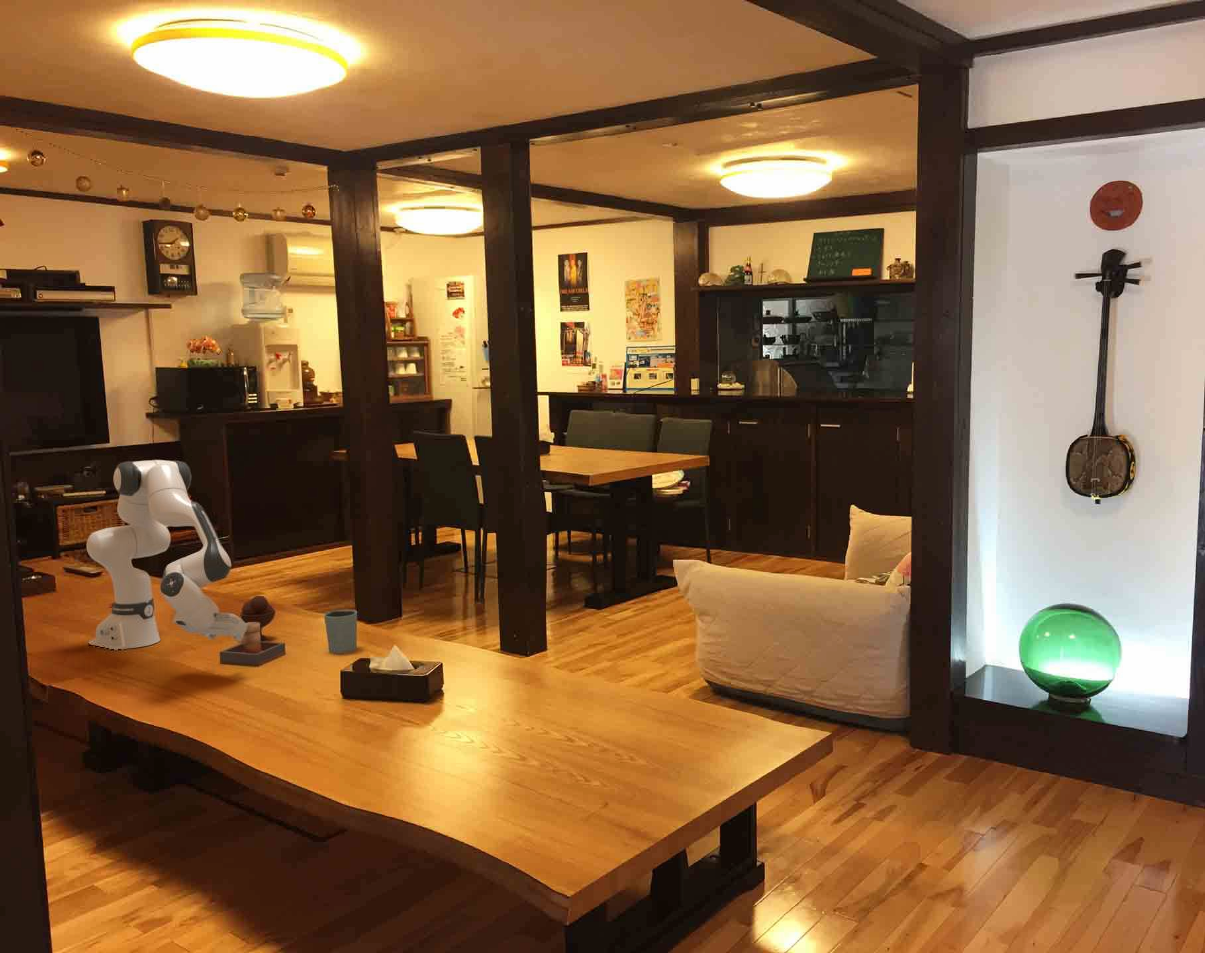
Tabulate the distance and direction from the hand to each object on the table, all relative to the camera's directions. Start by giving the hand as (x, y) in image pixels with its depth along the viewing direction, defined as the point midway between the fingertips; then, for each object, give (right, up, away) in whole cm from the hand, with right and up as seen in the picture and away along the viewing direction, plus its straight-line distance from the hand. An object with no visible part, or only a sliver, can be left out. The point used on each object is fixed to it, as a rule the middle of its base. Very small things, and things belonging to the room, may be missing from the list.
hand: (226, 638), depth 305 cm
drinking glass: (+29, -7, +20) cm, 36 cm away
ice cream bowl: (-2, -6, +34) cm, 35 cm away
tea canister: (+4, -7, +12) cm, 15 cm away
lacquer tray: (+4, -8, +12) cm, 15 cm away
